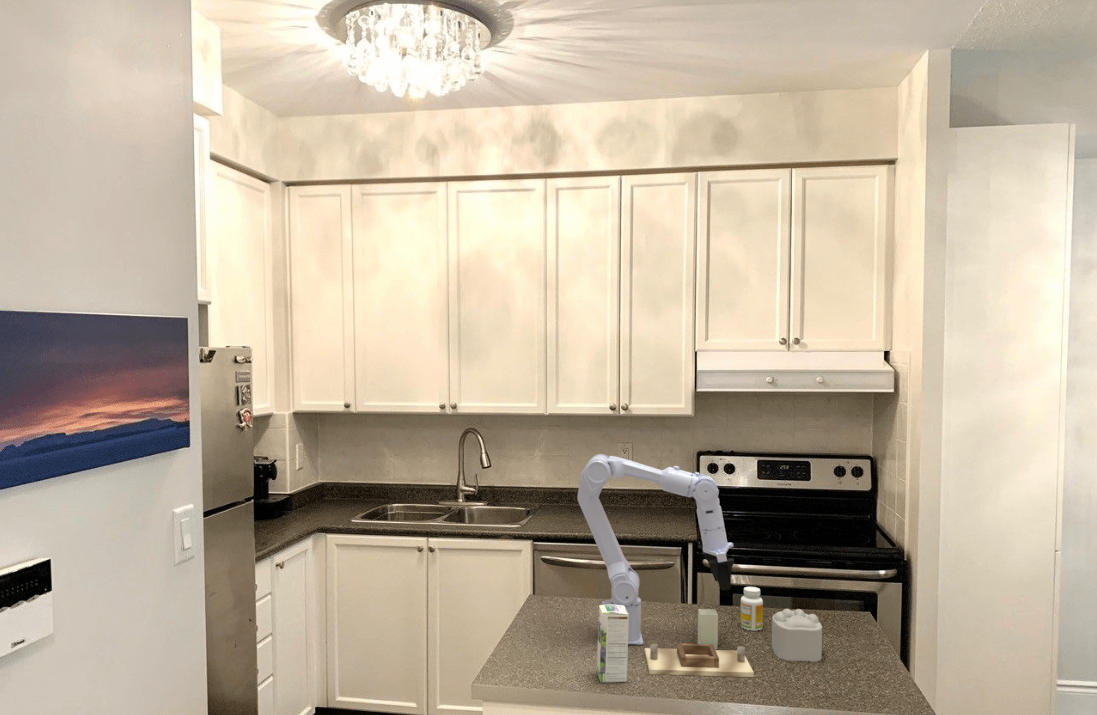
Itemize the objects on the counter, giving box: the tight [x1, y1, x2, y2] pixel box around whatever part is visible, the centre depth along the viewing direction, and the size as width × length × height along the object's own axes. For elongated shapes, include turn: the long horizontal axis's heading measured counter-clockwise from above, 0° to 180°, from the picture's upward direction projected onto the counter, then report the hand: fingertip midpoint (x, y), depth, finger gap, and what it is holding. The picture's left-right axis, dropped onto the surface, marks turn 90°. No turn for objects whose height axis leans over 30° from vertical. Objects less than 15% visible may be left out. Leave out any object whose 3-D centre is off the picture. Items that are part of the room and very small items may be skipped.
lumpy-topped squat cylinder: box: [771, 608, 823, 663], centre depth 182 cm, size 10×13×9 cm
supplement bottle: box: [740, 586, 764, 632], centre depth 196 cm, size 5×5×10 cm
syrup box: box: [596, 604, 629, 684], centre depth 165 cm, size 6×6×14 cm
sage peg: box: [697, 608, 719, 650], centre depth 183 cm, size 4×4×8 cm
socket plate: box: [644, 643, 755, 678], centre depth 173 cm, size 22×12×4 cm, turn 88°
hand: (722, 584), depth 184 cm, fingers open, 7 cm apart
